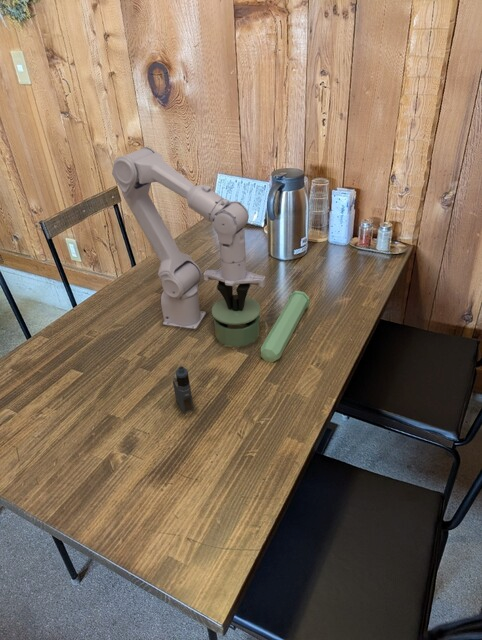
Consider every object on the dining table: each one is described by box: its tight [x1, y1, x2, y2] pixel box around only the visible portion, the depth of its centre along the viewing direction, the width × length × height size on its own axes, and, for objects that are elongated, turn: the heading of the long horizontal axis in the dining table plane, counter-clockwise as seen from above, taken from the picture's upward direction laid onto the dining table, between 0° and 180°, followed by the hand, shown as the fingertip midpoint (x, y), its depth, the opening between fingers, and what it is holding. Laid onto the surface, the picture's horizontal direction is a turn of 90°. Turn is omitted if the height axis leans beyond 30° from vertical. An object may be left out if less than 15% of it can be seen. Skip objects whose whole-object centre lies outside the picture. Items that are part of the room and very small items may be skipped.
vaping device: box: [172, 365, 195, 415], centre depth 90 cm, size 3×5×12 cm, turn 28°
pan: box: [213, 315, 261, 347], centre depth 112 cm, size 11×11×6 cm
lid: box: [211, 294, 262, 325], centre depth 108 cm, size 12×12×4 cm
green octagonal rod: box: [260, 290, 311, 363], centre depth 111 cm, size 6×6×25 cm
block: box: [226, 323, 248, 329], centre depth 112 cm, size 4×4×4 cm
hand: (236, 307), depth 109 cm, fingers closed on lid, 2 cm apart
